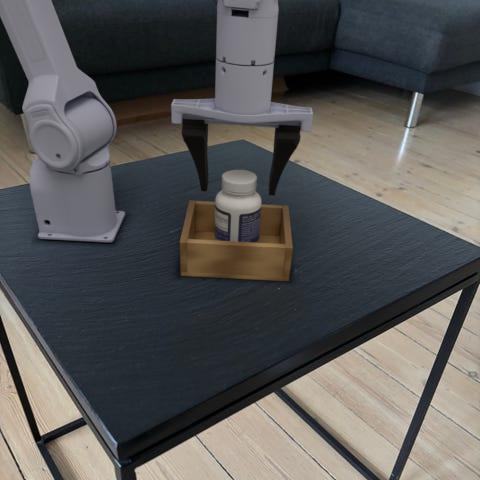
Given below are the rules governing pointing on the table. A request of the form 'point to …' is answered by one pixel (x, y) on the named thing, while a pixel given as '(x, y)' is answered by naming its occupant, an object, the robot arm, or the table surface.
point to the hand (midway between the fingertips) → (238, 189)
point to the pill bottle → (238, 208)
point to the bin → (236, 246)
